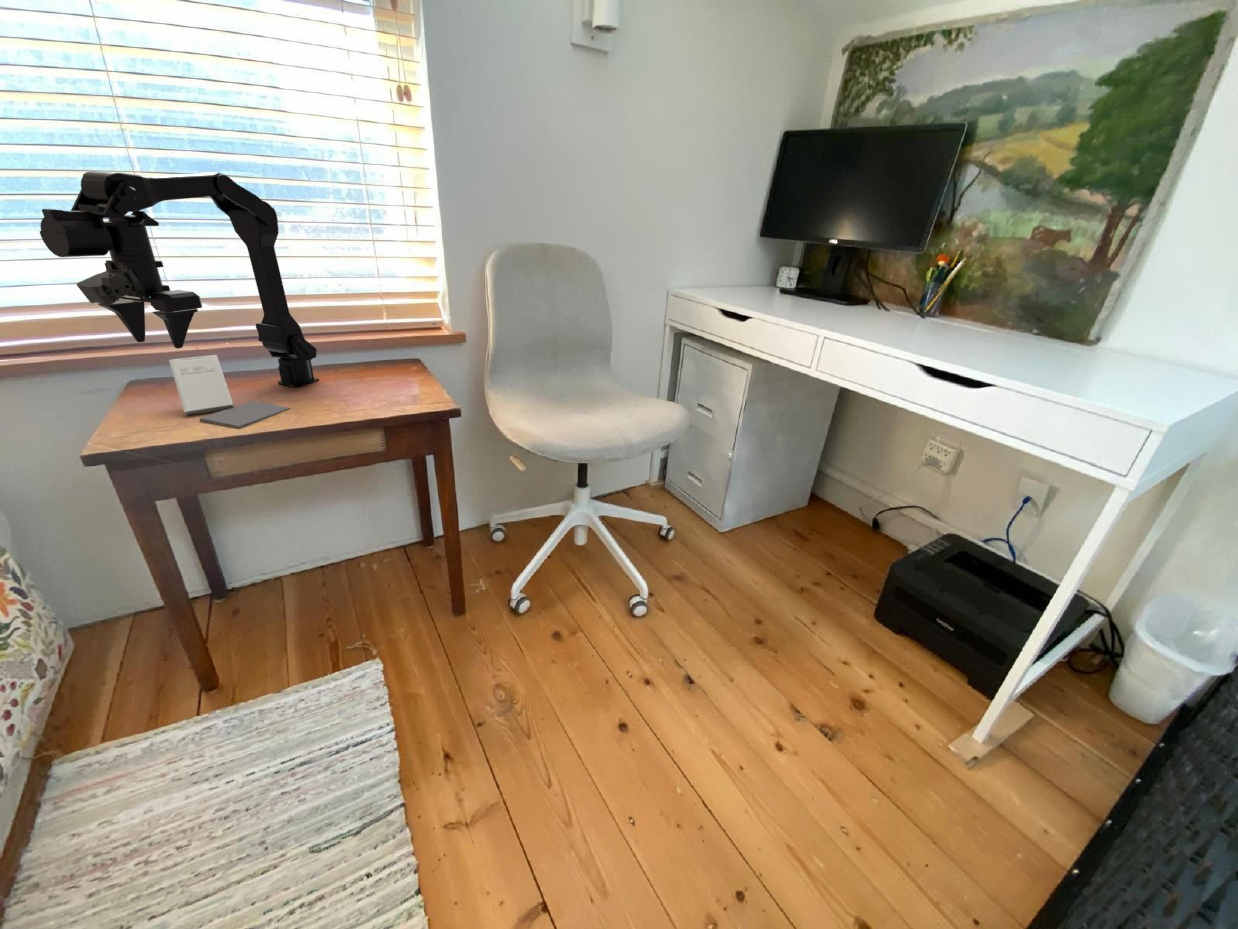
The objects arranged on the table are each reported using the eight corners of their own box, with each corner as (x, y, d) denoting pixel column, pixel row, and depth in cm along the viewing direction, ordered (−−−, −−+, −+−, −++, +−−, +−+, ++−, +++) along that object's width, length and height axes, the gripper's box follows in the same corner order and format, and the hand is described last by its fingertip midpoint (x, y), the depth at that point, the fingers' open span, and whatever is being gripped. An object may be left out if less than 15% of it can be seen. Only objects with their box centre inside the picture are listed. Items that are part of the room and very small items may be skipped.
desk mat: (253, 403, 116) (252, 400, 115) (290, 410, 113) (290, 407, 113) (200, 420, 105) (199, 418, 105) (240, 428, 103) (239, 426, 102)
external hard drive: (185, 415, 107) (169, 363, 109) (234, 408, 112) (217, 358, 114) (184, 411, 106) (168, 359, 108) (233, 404, 111) (216, 354, 113)
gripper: (35, 251, 86) (71, 347, 93) (121, 261, 82) (152, 361, 88) (112, 249, 96) (139, 336, 102) (192, 258, 92) (215, 348, 98)
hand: (159, 344), depth 98 cm, fingers open, 9 cm apart
